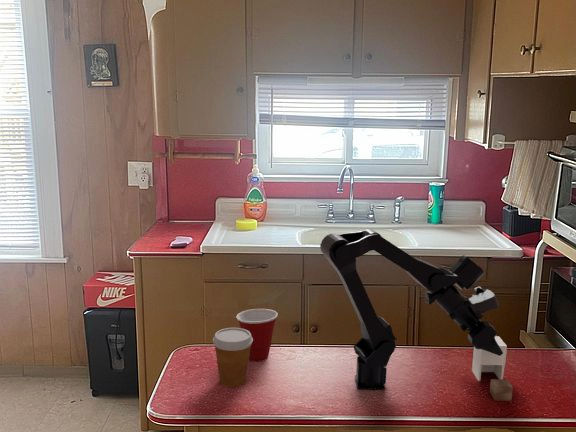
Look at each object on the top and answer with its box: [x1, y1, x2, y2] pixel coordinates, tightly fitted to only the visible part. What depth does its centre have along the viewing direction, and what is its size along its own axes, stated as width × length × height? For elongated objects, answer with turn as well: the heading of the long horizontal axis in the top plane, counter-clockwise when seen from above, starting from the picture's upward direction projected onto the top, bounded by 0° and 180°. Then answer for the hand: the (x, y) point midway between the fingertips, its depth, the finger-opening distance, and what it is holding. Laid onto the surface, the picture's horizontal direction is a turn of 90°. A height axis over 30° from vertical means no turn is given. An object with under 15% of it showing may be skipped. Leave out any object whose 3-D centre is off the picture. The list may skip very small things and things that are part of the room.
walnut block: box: [489, 378, 513, 402], centre depth 145 cm, size 4×4×4 cm
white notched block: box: [471, 335, 508, 382], centre depth 154 cm, size 6×6×10 cm
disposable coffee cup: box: [212, 327, 253, 388], centre depth 149 cm, size 10×10×12 cm
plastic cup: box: [235, 308, 278, 362], centre depth 163 cm, size 11×11×12 cm
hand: (495, 346), depth 153 cm, fingers open, 9 cm apart
